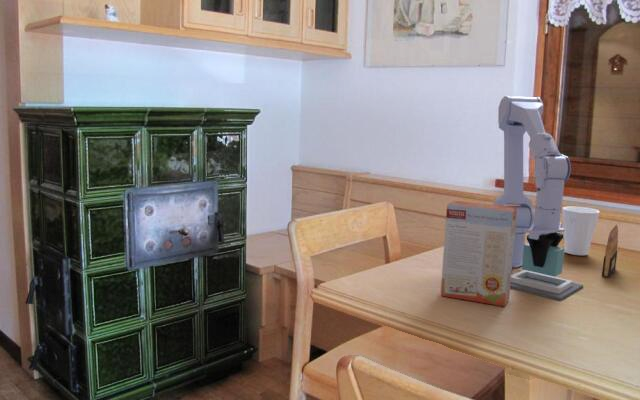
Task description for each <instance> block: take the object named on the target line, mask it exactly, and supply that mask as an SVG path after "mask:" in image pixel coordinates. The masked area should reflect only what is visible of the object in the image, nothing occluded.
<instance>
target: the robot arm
mask: <svg viewBox="0 0 640 400" xmlns="http://www.w3.org/2000/svg"><path fill="white" fill-rule="evenodd" d="M543 113H544V103H543V100H542V99H541V98H540V97H539V96H536V97H531V96H530V97H529V96H528V97H527V96H510V95H504V96H503V97H502V99H500V103H499V105H498V116H497V118H498V119H497V120H498V121H497V123H498V128H499V130H501V131H503V145H504V146H503V193H502V194H501V195H500V196H499V197H497V198H496V199H495V200H494V201H493V204H492V205H499V206H505V205H507V206H508V207H516V208H517V212H516V224H515V237H514V248H513V259H512V268H514V269H515V268H519V267H522V260H523V250H524V244H526V243H525V241H527V243H529V245H530V248H531V252H532V258H533V264H534V266H538V267H543V266H544V264H545V260H546V256H547V252H548V249H549V247H550V246H554V247H559V244H560V243H561V241H562V240H563V239H564V227H563V222H561V216H562V209H563V198H564V189H565V182H566V181H568V179H569V178H570V176H571V171H572V167H571V165H572V164H571V161H570V158H569V156H567V155H564V154H563V153H560V151H559V148H558V146H557V144H556V142H555V140H554V137H553V136H552V135H551V134H550V133H547V132H546V130H545V126H544V123H543V119H542V115H543ZM526 133H527V135H528V136H529V138H530V140H529V142H528V147H529V150H530V153H531V155H532V157H533V160H534V162H535V165H534V167H533V168H534V169H533V171H534V177H535V181H534V184H535V187H536V195H535V196H536V198H535V207H533V206H534V205H533V201H532V200H531V199H530V197H528V196H527V195H525V193H524V136H525V134H526ZM526 233H528V234H527V235H526Z"/></svg>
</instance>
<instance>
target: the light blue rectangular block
mask: <svg viewBox="0 0 640 400" xmlns="http://www.w3.org/2000/svg"><path fill="white" fill-rule="evenodd" d="M564 255H565V247H563V248H562V247H559V246H557V247H554V246H550V247H549V249H548V252H547V256H546V260H545V264H544V266H543V267H538V266H534V264H533V258H532V252H531V248H530V245H529V243H528V242H527V243H525V244H524V250H523V260H522V266H521V270H522V271H523V270H526V271H531V272H535V273H540V274H544V275H549V276H553V277H557V276H559V275H561V274H562V273H563V264H564Z"/></svg>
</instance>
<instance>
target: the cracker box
mask: <svg viewBox="0 0 640 400" xmlns="http://www.w3.org/2000/svg"><path fill="white" fill-rule="evenodd" d="M508 206H509V205H503V206H499V205H493V204H488V203H480V202H479V203H478V202H472V201H458V200H453V201H451V202H449V203H447V205H446V214H445V217H446V218H445V229H444V241H443V255H442V272H441V285H440V287H441V288H440V296H441V297H445V298H446V297H447V298H453V299H458V300H463V301H464V300H465V301H470V302H475V303H481V304H482V303H483V304H486V305H487V304H489V305H493V306H498V307H505V306H506V305H507V304H508V302H509V300H510V295H511V294H510V293H511V288H510V283H511V276H512V269H513V267H512V259H513V248H514V237H515V224H516V212H517V208H516V207H508Z"/></svg>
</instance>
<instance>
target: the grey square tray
mask: <svg viewBox="0 0 640 400" xmlns="http://www.w3.org/2000/svg"><path fill="white" fill-rule="evenodd" d="M583 288H584V285H583V284H579V283H577V282H574V281H573V280H570V279H565V278H560V277H557V276H555V277H554V276H550V275H545V274H541V273H536V272H532V271H528V270H523V269H522V270H521V271H519V272H516V273H514V274H511V283H510V289H512V290H517V291H520V292H525V293H528V294H531V295H532V294H533V295H537V296H541V297H545V298H548V299H551V300H552V299H553V300H556V301H560V302H561V301H563V300H564V299H566V298H567V297H570V296H571V295H573V294H574V293H576V292H578V291H579V290H581V289H583Z"/></svg>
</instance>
